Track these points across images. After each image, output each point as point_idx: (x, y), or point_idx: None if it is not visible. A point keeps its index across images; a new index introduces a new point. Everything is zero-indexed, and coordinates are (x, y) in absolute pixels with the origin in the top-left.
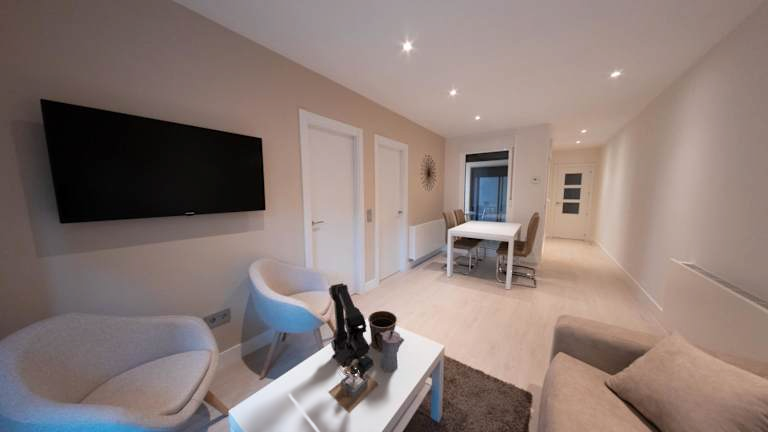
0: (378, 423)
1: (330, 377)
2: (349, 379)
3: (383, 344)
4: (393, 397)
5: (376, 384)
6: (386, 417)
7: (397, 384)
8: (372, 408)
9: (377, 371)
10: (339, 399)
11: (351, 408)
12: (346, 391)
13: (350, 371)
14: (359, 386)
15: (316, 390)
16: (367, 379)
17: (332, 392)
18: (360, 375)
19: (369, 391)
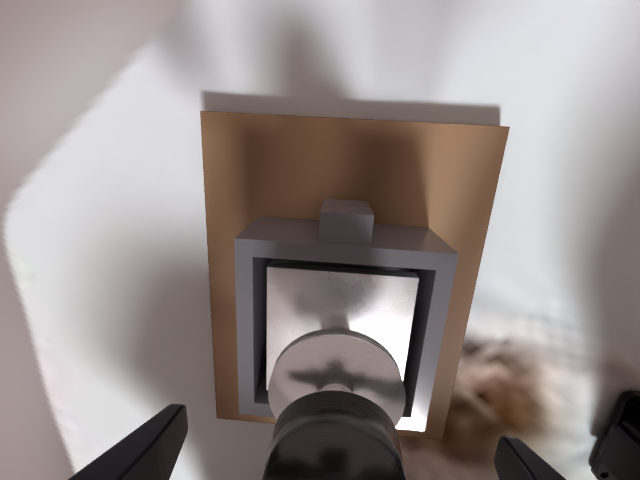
0: (20, 210)
1: (599, 251)
2: (390, 322)
3: None
4: (97, 394)
5: (228, 407)
6: (21, 272)
7: None
8: (128, 263)
9: None
10: (361, 145)
11: (218, 155)
12: (321, 210)
13: (371, 416)
14: (241, 322)
15: (634, 70)
16: None
17: (468, 150)
18: (107, 462)
19: (225, 342)
